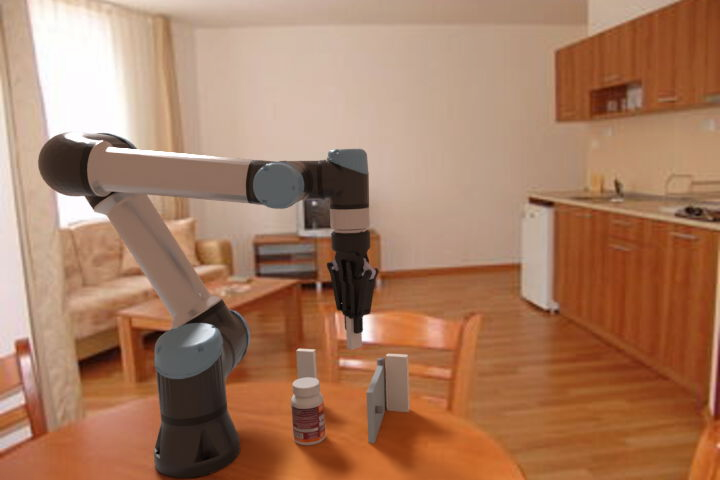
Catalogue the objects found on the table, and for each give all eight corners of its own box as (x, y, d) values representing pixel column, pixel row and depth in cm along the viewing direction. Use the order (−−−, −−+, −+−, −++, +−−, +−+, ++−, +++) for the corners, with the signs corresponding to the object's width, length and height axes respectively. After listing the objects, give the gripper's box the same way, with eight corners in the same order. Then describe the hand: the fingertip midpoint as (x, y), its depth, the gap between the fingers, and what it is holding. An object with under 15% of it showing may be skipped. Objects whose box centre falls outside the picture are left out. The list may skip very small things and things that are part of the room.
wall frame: (299, 403, 124) (296, 350, 122) (301, 400, 126) (298, 348, 124) (408, 412, 118) (406, 357, 116) (409, 409, 119) (408, 354, 117)
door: (379, 406, 121) (377, 357, 119) (391, 407, 120) (390, 357, 119) (366, 442, 106) (364, 387, 104) (381, 443, 105) (379, 387, 104)
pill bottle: (327, 443, 106) (324, 386, 104) (294, 448, 105) (291, 391, 103) (323, 428, 112) (320, 374, 110) (291, 433, 111) (288, 378, 109)
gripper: (388, 230, 106) (391, 350, 110) (343, 225, 116) (347, 335, 119) (358, 235, 101) (362, 360, 105) (314, 229, 111) (319, 344, 115)
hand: (354, 347), depth 112 cm, fingers closed
